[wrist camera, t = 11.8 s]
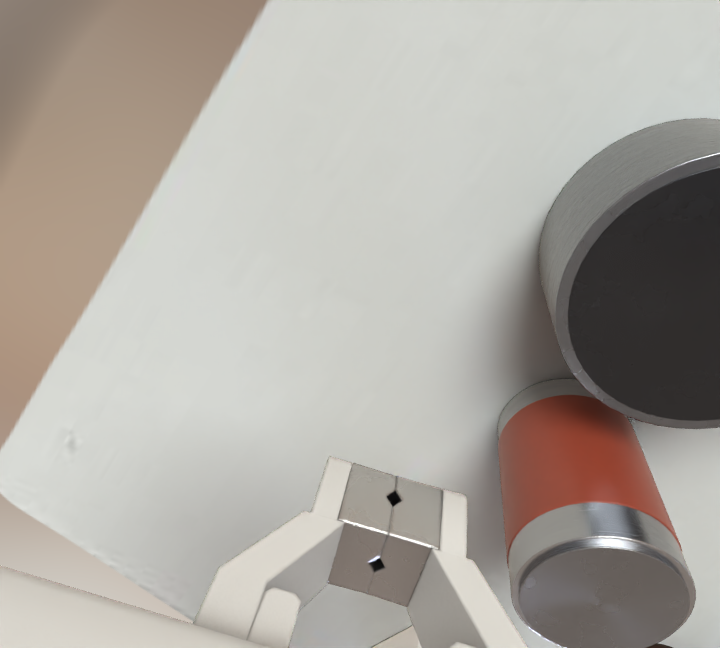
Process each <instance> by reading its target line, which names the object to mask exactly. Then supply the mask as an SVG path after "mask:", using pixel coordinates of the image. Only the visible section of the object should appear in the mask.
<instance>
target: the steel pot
mask: <svg viewBox="0 0 720 648" xmlns="http://www.w3.org/2000/svg"><path fill="white" fill-rule="evenodd" d="M538 260H539V274H540V279H541V283H542V288H543V291H544V295H545V298H546V302H547V305H548V309H549V312H550V316H551V319H552V323H553V326H554V330H555V333H556V337H557V340H558V344H559V347H560V350H561V352H562V355H563V357H564V360H565V362H566V363H567V365H568V367H569V369H570V370H571V372H572V374H573V375H574V376H575V378H576V379H577V380H578V381H579V382H580V384H581V385H582V386H583V387H584V388H585V389H586V390H587V391H588V392H589V393H590V394H591V395H593V396H594V397H595V398H596V399H598V400H599V401H601V402H602V403H603V404H605V405H606V406H608V407H609V408H611V409H613V410H615V411H617V412H619V413H621V414H623V415H625V416H628V417H631V418H633V419H636V420H639V421H642V422H646V423H650V424H654V425H658V426H665V427H672V428H685V429H704V428H718V427H720V120H718V119H707V118H701V119H683V120H677V121H671V122H665V123H662V124H658V125H655V126H651V127H648V128H645V129H642V130H640V131H637V132H635V133H633V134H630V135H628V136H626V137H624V138H622V139H620V140H619V141H617V142H615V143H613V144H611V145H610V146H608V147H607V148H605V149H604V150H603V151H601V152H600V153H598V154H597V155H595V156H594V157H593V158H592V159H591V160H589V161H588V162H587V163H586V164H585V165H584V166H583V167H582V168H580V169H579V170H578V172H577V173H576V174H575V175H574V176H573V177H572V178H571V179H570V181H569V182H568V183H567V184H566V186H565V187H564V188H563V190H562V191H561V193H560V194H559V196H558V197H557V199H556V200H555V202H554V204H553V206H552V208H551V210H550V212H549V214H548V217H547V219H546V222H545V225H544V227H543V231H542V235H541V240H540V245H539V257H538Z"/></svg>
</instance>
